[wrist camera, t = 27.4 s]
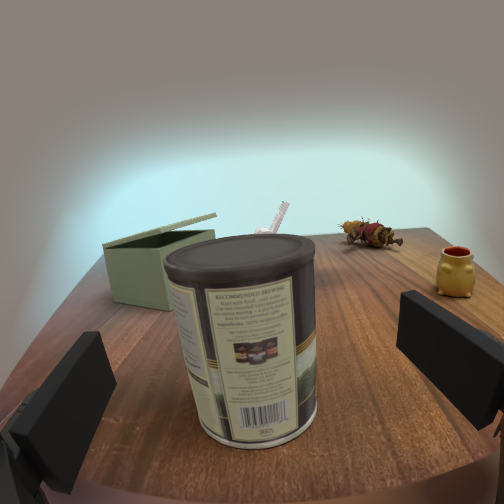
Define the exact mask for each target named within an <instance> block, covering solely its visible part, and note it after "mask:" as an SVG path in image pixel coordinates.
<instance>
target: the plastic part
mask: <svg viewBox="0 0 504 504" xmlns="http://www.w3.org/2000/svg"><path fill="white" fill-rule="evenodd" d="M288 206H289V203H287V202H286V203H285V202H283V201H282V204H281V207H280V208H279V210H280V212H279V214H277V215H276V217H275V219H274V221H273V223H272V225H271V227H270V229H266V228H259V229H257V230H256V231H255V233H254V234H276V232H277V230H278V228H279V226H280V224H281V221H282V219H283V217H284V215H285V212H286V210H287V208H288Z"/></svg>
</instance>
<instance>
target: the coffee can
mask: <svg viewBox="0 0 504 504" xmlns="http://www.w3.org/2000/svg"><path fill="white" fill-rule="evenodd" d="M314 255H315V244H314V242H313V241H312V240H310V239H308V238H305V237H302V236H298V235H290V234H250V235H239V236H230V237H224V238H219V239H211V240H207V241H202V242H198V243H194V244H191V245H188V246H185V247H182V248H179V249H177V250H175V251H173V252H171V253H169V254H168V255H166V256H165V257H164V259H163V265H164V269H165V272H166V273H167V276H168V282H169V287H170V293H171V298H172V303H173V308H174V313H175V318H176V322H177V327H178V332H179V336H180V341H181V345H182V350H183V354H184V359H185V363H186V367H187V371H188V375H189V379H190V383H191V387H192V391H193V395H194V398H195V402H196V406H197V410H198V415H199V421H200V423H201V425H202V427H203V429H204V430H205V431H206V433H207V434H208V435H210V436H211V437H212V438H214V439H215V440H217V441H219V442H220V443H223V444H225V445H228V446H231V447H235V448H241V449H263V448H269V447H274V446H277V445H280V444H283V443H286V442H288V441H290V440H292V439H294V438H296V437H297V436H299V435H300V434H301V433H302V432H303V431H305V430H306V429H307V428H308V427H309V425H310V424H311V423H312V421H313V419H314V417H315V415H316V411H317V401H316V319H315V286H314V264H313V257H314Z"/></svg>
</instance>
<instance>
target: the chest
mask: <svg viewBox="0 0 504 504" xmlns="http://www.w3.org/2000/svg"><path fill="white" fill-rule="evenodd" d="M211 239H215V231H214V229H212V230H183V231H167V232H164V233H161V234H157V235H153V236H149V237H145V238H142V239H138V240H134V241H130V242H126V243H123V244H119V245H115V246H112V247H108V248H105V249H104V256H105V261H106V266H107V271H108V276H109V281H110V285H111V290H112V294H113V298H114V302H119V303H124V304H130V305H135V306H141V307H147V308H153V309H159V310H165V311H171V310H173V309H174V308H173V303H172V298H171V293H170V287H169V282H168V276H167V273H166V272H165V269H164V265H163V259H164V257H165V256H166V255H168V254H169V253H171V252H173V251H175V250H177V249H179V248H182V247H185V246H188V245H191V244H194V243H198V242H202V241H207V240H211Z"/></svg>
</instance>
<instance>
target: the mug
mask: <svg viewBox="0 0 504 504" xmlns="http://www.w3.org/2000/svg"><path fill="white" fill-rule="evenodd" d="M473 258H474V255H473V254H472V252H471V250H470V249H468V248H465V247H460V246H453V247H446V248H443V250H442V252H441V258H440V261H439V264H438V267H437V273H436V283H437V286H438V290H439V291H438V294H440V295H448V296H454V297H463V296H464V297H471V294H470V293H471V291H472V290H473V287H474V284H475V268H474V262H473Z"/></svg>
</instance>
